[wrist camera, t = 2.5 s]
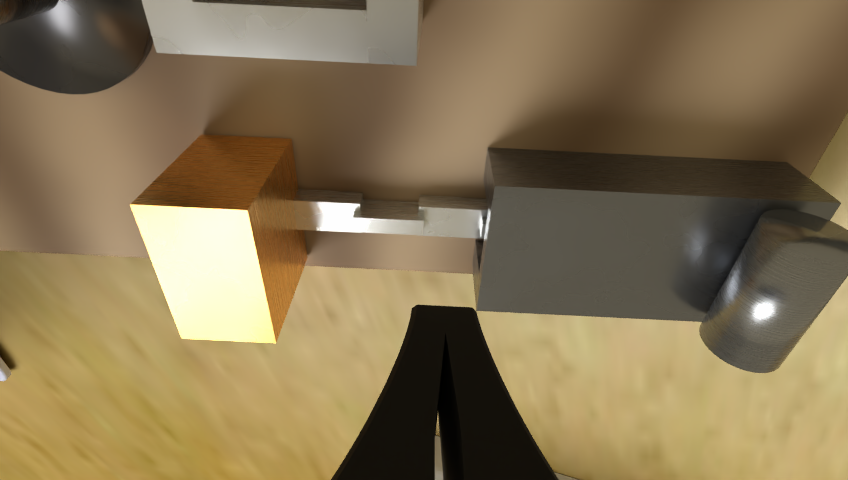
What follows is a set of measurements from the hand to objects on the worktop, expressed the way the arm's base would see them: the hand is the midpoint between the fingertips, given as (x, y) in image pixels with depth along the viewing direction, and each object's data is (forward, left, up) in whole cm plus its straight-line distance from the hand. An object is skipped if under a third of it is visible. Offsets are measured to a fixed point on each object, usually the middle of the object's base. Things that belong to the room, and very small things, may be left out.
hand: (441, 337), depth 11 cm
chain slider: (+1, -1, -7) cm, 7 cm away
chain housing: (+6, -1, -7) cm, 10 cm away
